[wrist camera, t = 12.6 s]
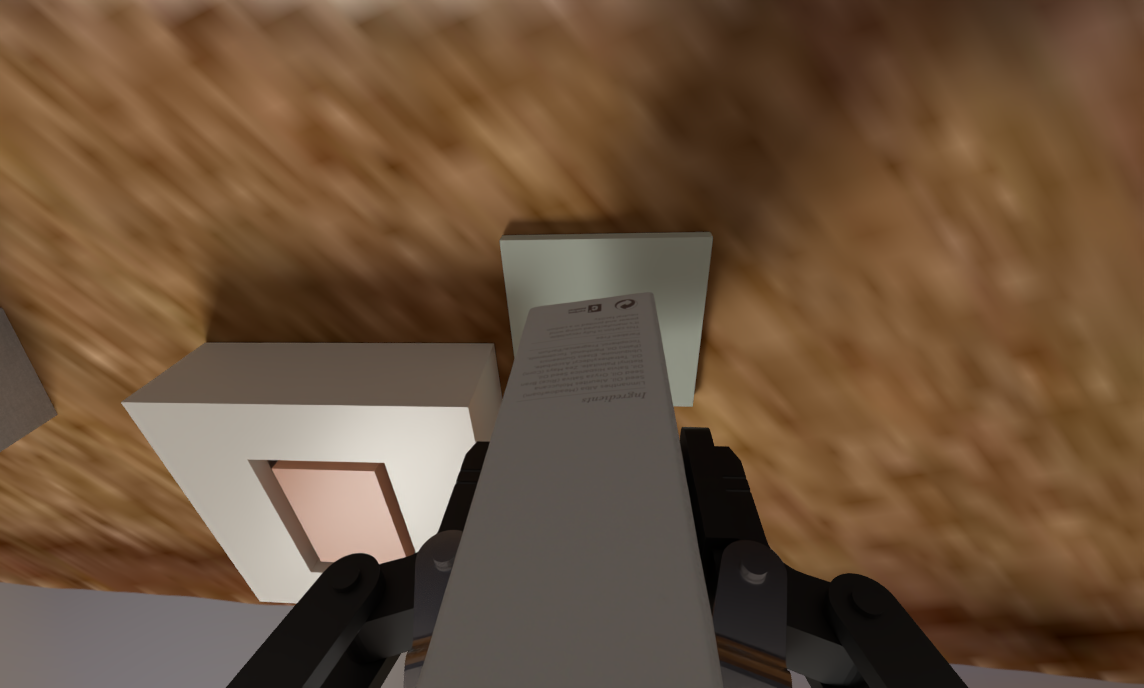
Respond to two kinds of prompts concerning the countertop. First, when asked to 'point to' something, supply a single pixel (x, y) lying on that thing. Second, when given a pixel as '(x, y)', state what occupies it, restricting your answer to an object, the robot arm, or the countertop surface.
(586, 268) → the mat
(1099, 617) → the countertop surface
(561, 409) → the skincare box
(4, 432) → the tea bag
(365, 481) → the button
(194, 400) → the frame
